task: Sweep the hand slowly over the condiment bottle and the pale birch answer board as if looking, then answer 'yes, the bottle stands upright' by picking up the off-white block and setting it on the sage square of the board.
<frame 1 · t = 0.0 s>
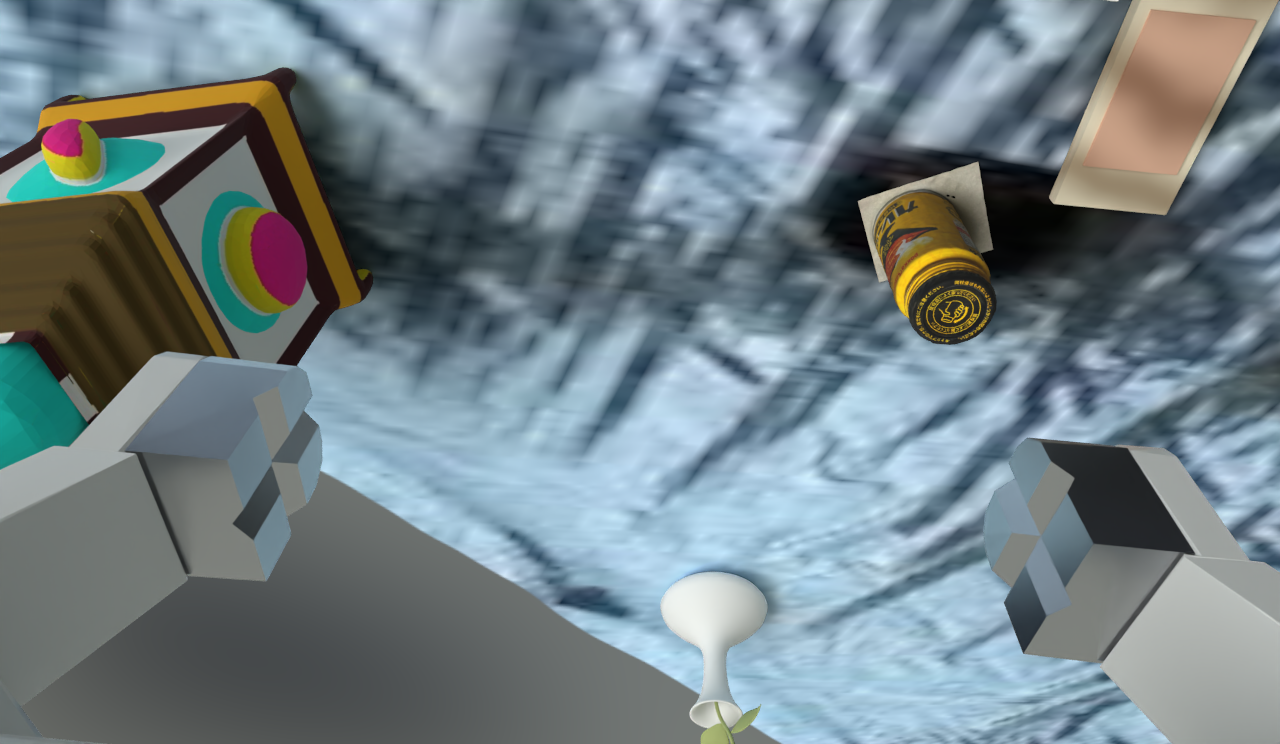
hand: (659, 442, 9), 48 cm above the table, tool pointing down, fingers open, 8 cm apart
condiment: (924, 222, 60), on the table
flower in vase: (719, 590, 87), on the table
decorative lantern: (235, 191, 61), on the table
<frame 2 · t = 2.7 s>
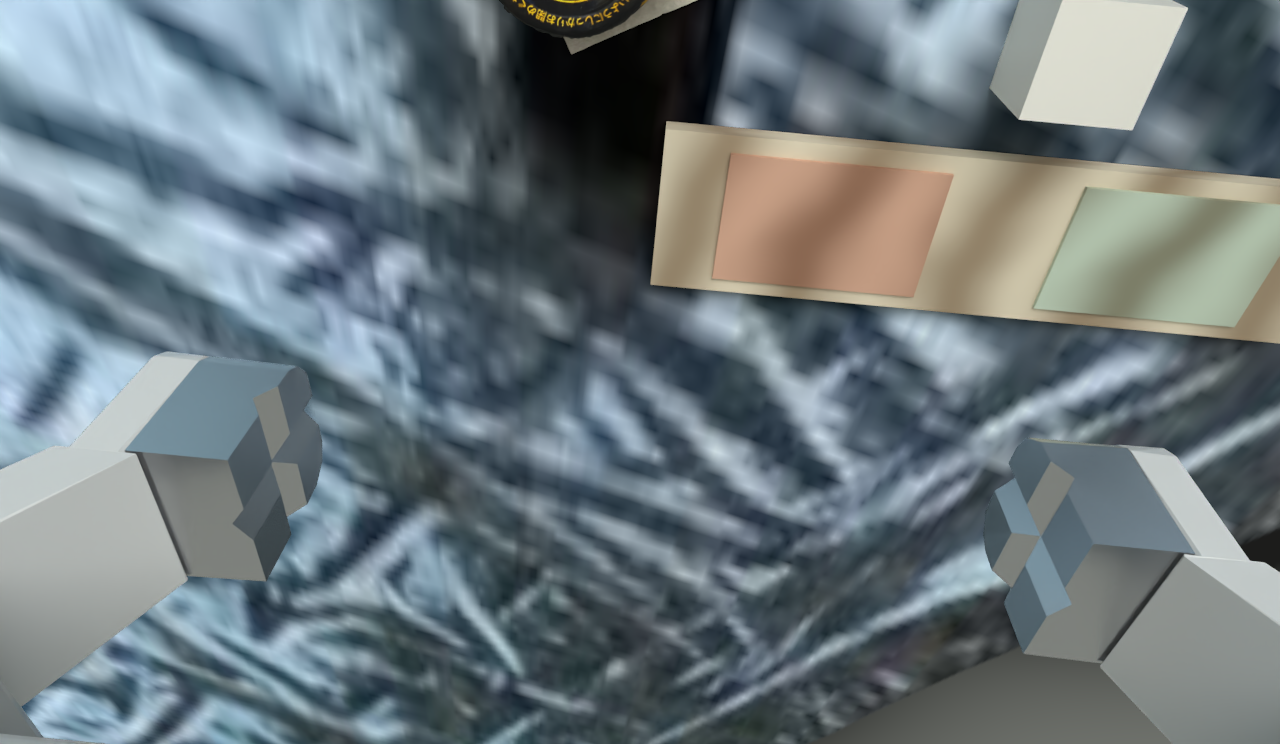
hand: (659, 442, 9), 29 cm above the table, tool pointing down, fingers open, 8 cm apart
answer board: (988, 233, 39), on the table
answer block: (1060, 37, 33), on the table
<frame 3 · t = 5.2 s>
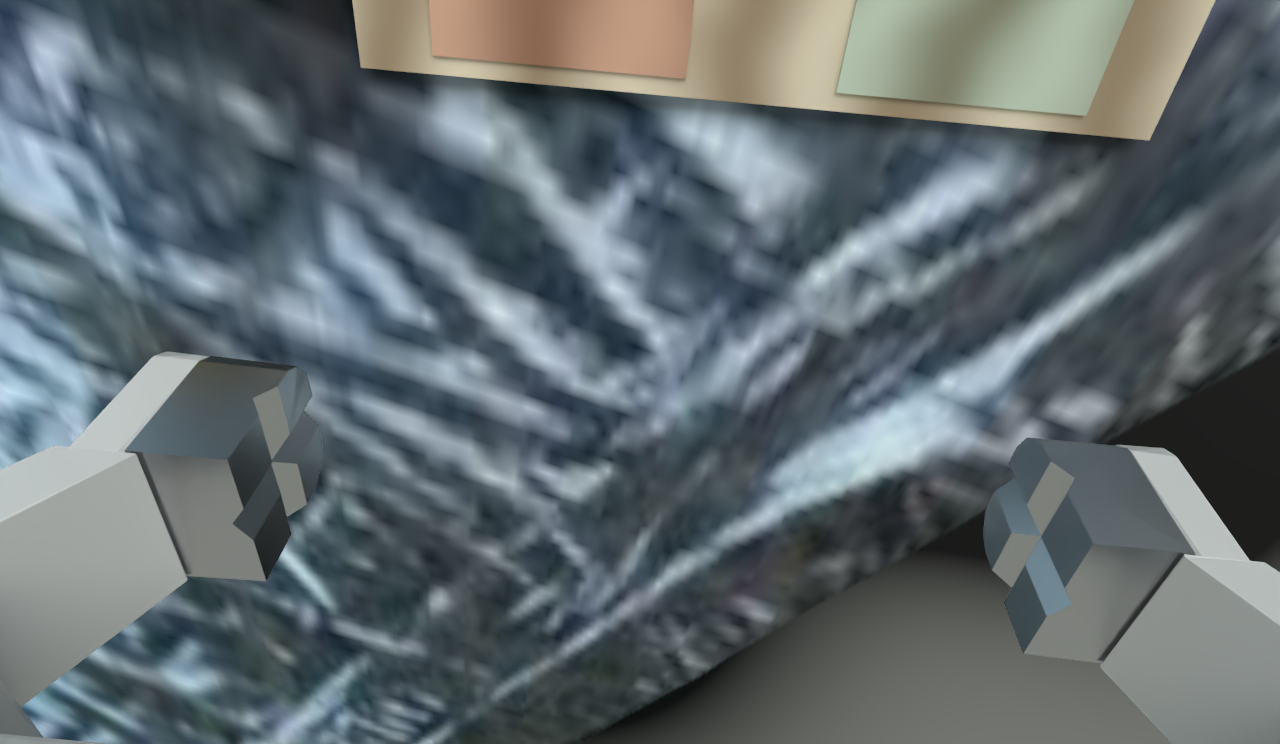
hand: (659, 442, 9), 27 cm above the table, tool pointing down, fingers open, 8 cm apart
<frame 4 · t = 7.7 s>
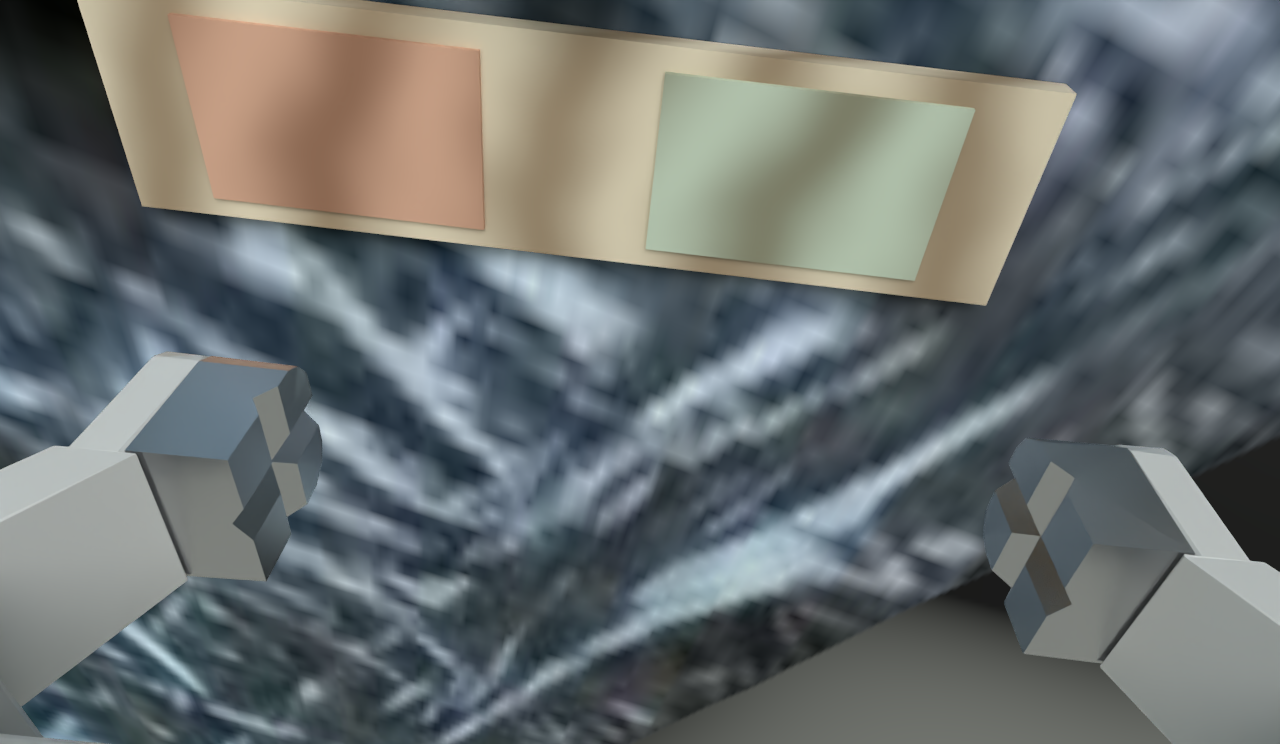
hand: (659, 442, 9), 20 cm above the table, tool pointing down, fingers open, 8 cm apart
answer board: (572, 143, 29), on the table
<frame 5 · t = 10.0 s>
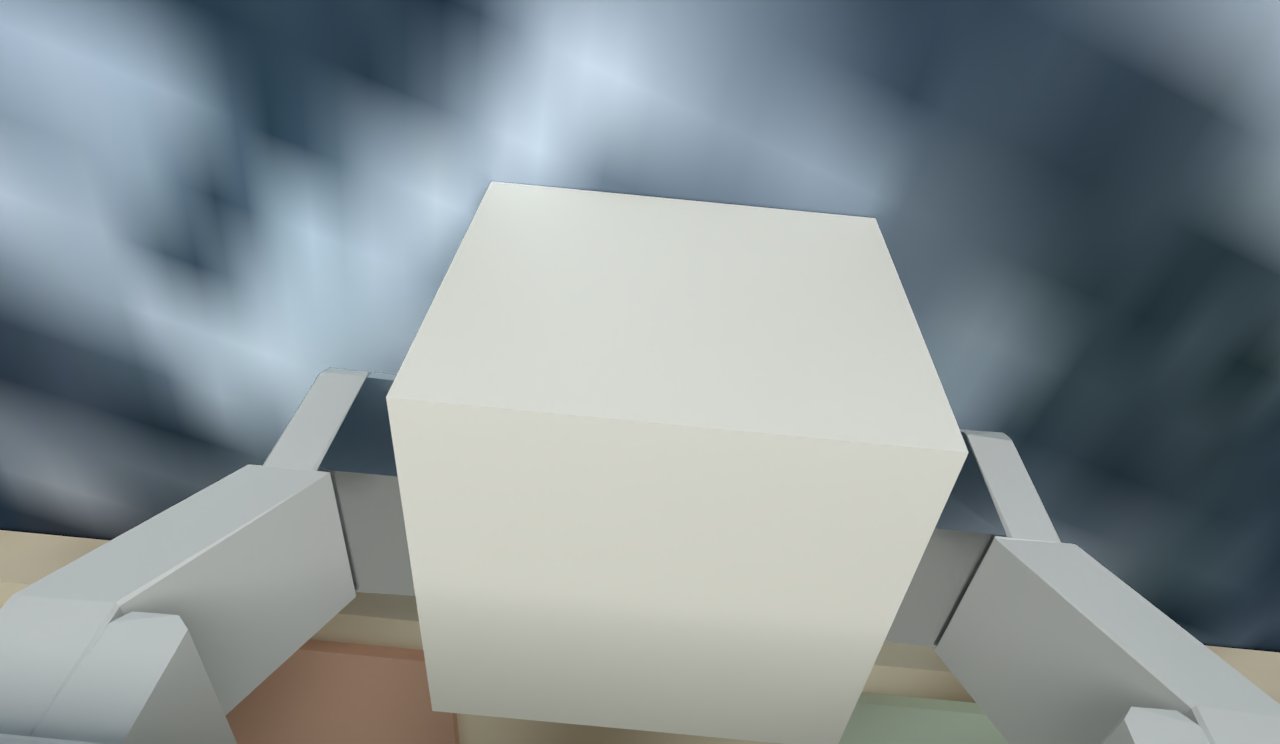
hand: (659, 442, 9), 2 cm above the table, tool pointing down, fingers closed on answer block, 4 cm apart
answer board: (620, 715, 16), on the table
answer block: (664, 355, 11), on the table, touching gripper
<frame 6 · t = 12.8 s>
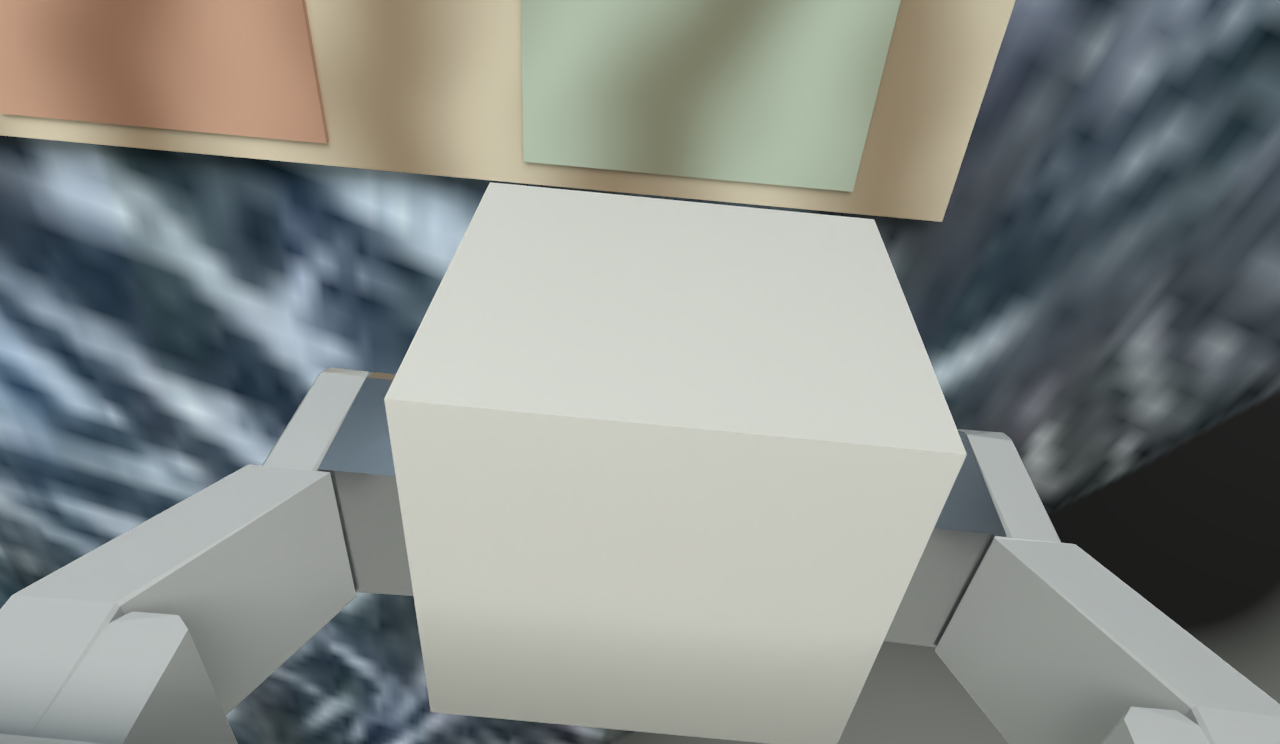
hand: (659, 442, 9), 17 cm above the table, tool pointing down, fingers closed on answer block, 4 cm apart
answer board: (426, 31, 23), on the table
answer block: (663, 355, 11), point 15 cm above the table, touching gripper
when the fingers open (4 cm above the table, at t = 15.9 s): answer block stays where it is, resting on answer board.
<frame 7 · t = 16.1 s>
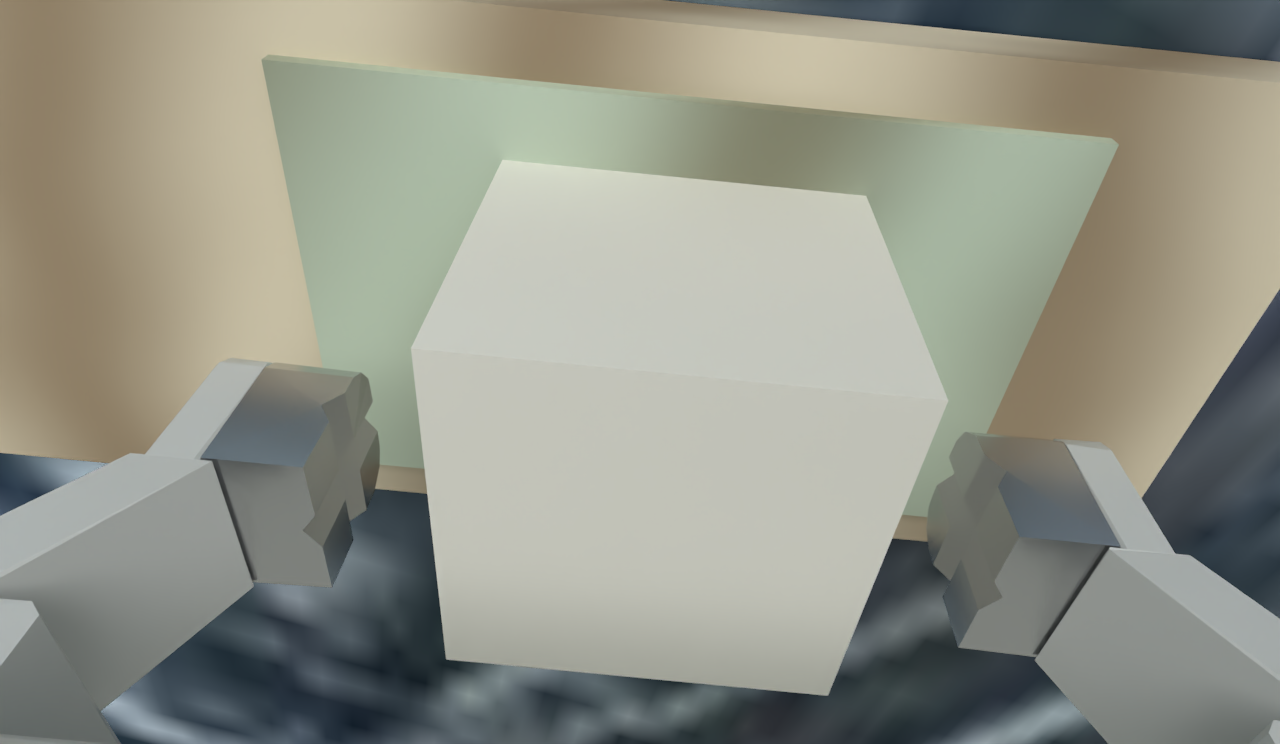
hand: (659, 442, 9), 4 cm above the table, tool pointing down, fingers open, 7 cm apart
answer board: (141, 233, 12), on the table
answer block: (666, 328, 11), point 1 cm above the table, touching answer board
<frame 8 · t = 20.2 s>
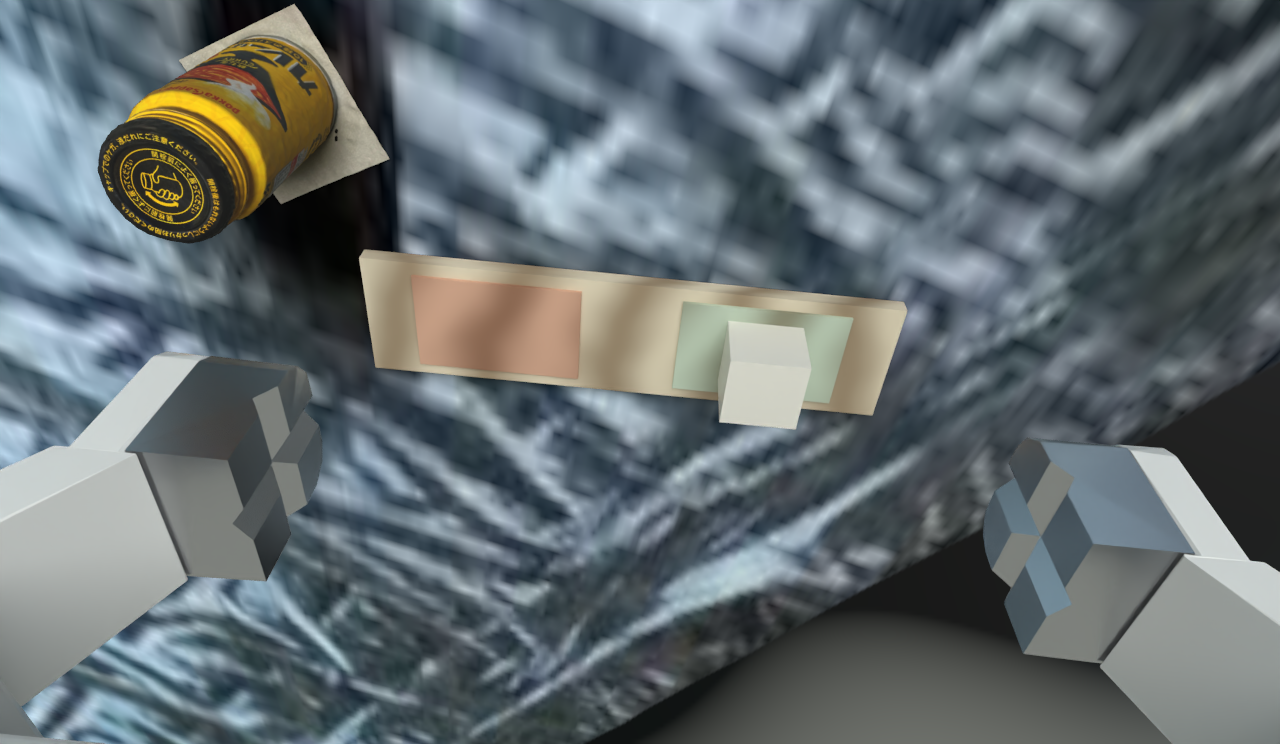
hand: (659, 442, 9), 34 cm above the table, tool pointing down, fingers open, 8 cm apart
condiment: (290, 108, 43), on the table
answer board: (629, 331, 50), on the table
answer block: (759, 354, 49), point 1 cm above the table, touching answer board
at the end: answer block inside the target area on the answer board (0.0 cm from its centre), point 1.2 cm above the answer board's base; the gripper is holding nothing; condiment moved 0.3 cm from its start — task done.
